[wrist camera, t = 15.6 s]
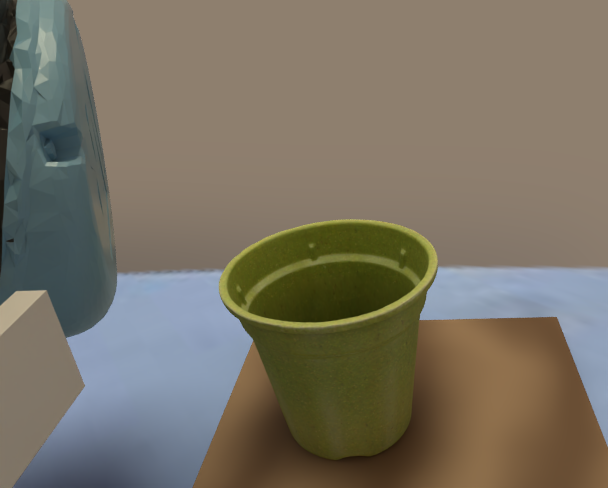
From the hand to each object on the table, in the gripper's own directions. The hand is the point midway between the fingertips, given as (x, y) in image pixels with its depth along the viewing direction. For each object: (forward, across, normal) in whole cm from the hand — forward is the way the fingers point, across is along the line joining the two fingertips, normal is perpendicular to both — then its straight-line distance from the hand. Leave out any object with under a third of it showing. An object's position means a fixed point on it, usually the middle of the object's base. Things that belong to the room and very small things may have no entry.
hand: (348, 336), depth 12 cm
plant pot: (+12, -2, -14) cm, 18 cm away
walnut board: (+12, 0, -15) cm, 19 cm away
